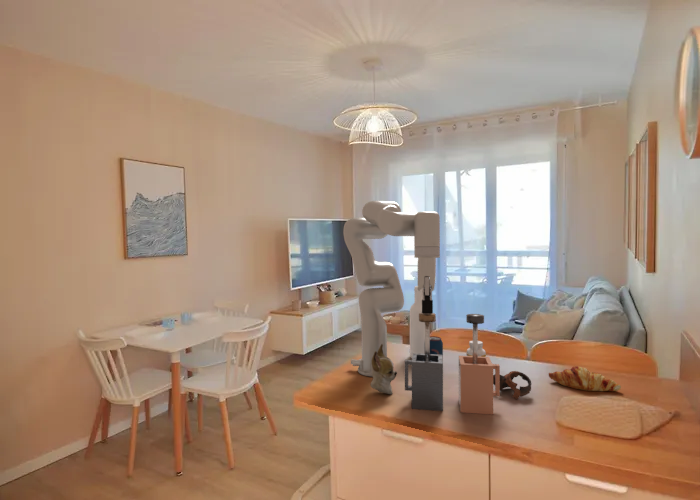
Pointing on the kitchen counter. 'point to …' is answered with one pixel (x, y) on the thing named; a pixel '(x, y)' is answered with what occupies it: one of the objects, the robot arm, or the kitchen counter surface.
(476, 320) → the grey plunger
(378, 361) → the ceramic sculpture
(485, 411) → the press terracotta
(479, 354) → the supplement bottle
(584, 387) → the croissant
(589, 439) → the kitchen counter surface
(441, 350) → the soda can
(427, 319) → the plunger bronze
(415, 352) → the bottle
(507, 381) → the brown curved piece
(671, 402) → the kitchen counter surface
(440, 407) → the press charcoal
